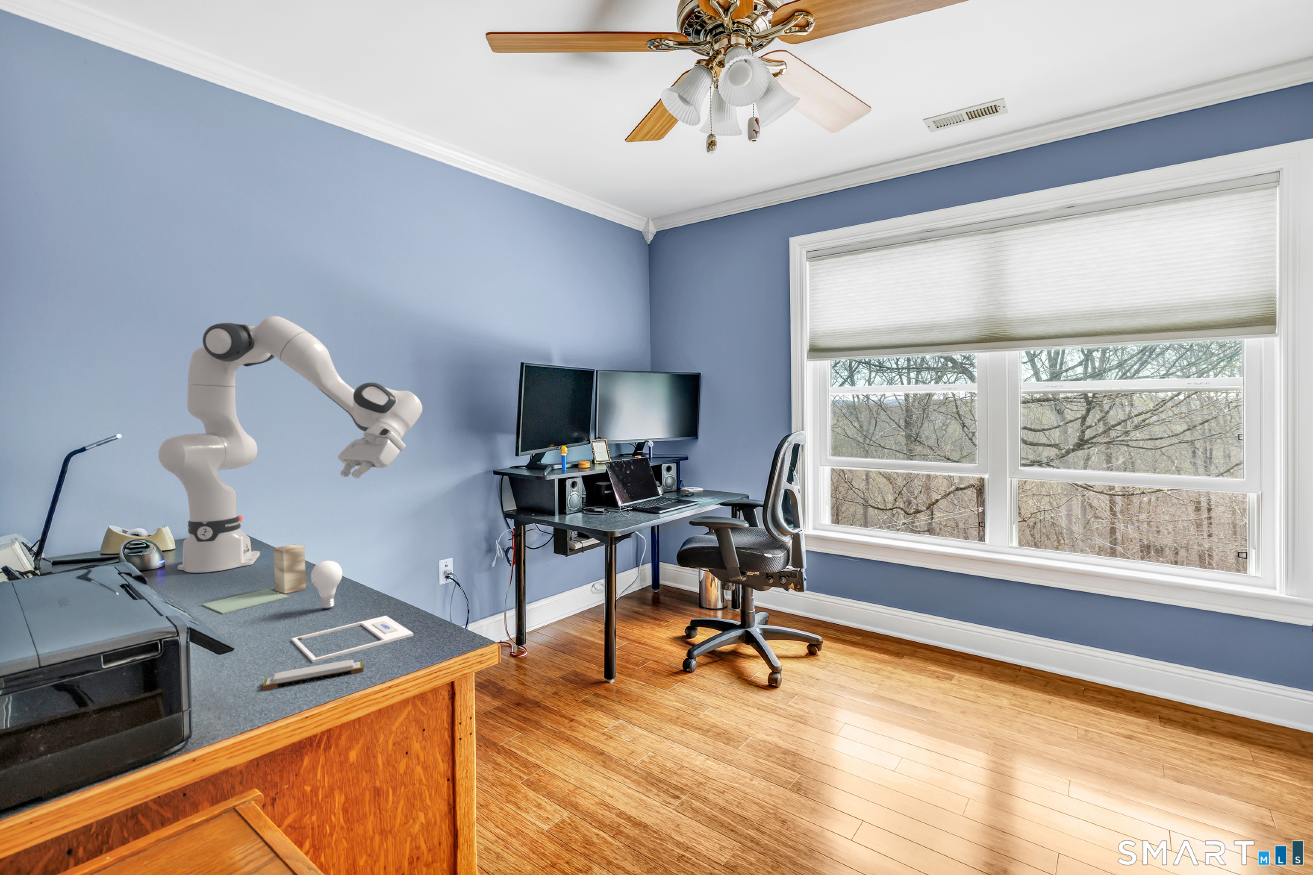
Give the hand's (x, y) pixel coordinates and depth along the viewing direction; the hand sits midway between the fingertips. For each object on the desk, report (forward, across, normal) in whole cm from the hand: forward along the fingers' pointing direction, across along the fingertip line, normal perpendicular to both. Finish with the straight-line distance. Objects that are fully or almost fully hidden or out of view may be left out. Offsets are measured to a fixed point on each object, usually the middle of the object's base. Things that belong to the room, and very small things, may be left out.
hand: (348, 476), depth 163 cm
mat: (+38, 0, +1) cm, 38 cm away
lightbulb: (+32, +22, +7) cm, 40 cm away
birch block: (+31, 0, +8) cm, 32 cm away
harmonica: (+47, +56, -7) cm, 73 cm away
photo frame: (+38, +44, +2) cm, 58 cm away
